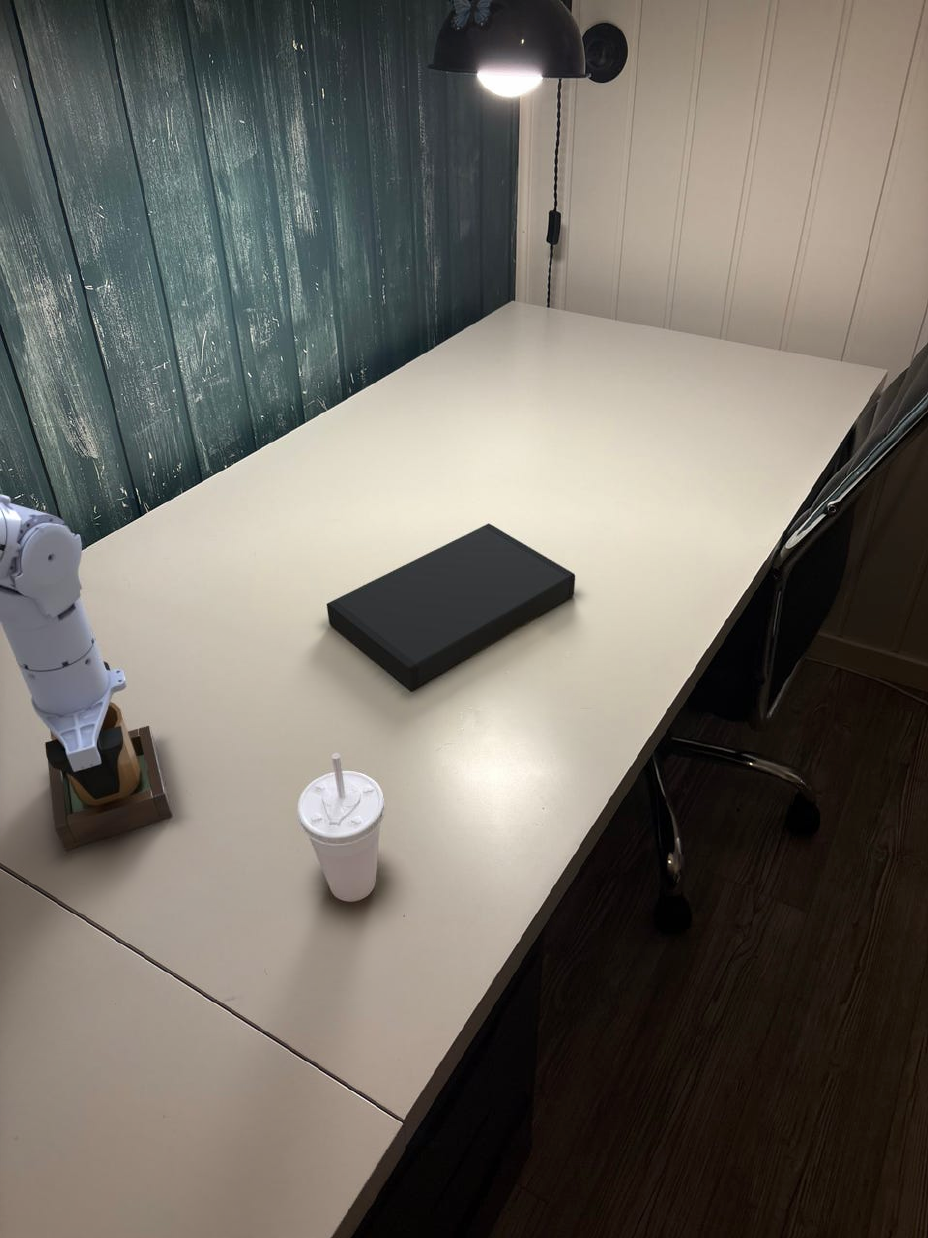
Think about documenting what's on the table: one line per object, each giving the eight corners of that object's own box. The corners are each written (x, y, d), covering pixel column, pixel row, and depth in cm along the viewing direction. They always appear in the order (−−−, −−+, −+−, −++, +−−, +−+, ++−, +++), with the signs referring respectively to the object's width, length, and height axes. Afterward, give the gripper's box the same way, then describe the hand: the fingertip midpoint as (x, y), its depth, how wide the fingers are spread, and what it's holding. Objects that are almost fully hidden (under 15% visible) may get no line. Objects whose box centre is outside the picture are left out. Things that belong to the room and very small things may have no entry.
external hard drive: (329, 624, 99) (326, 602, 97) (488, 543, 110) (488, 522, 109) (411, 691, 90) (410, 668, 88) (574, 596, 102) (575, 574, 100)
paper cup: (77, 814, 76) (52, 757, 72) (72, 768, 80) (48, 711, 76) (146, 793, 78) (126, 735, 74) (137, 749, 82) (117, 692, 78)
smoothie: (398, 851, 75) (386, 732, 67) (385, 920, 70) (371, 800, 62) (322, 846, 76) (300, 726, 67) (303, 913, 71) (278, 794, 62)
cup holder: (65, 851, 76) (54, 828, 74) (57, 777, 82) (46, 754, 80) (172, 816, 79) (165, 793, 77) (156, 748, 85) (149, 725, 83)
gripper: (121, 691, 66) (163, 814, 74) (99, 582, 76) (138, 700, 85) (16, 720, 63) (72, 843, 72) (8, 603, 74) (58, 723, 82)
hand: (102, 768), depth 78 cm, fingers closed on paper cup, 5 cm apart
